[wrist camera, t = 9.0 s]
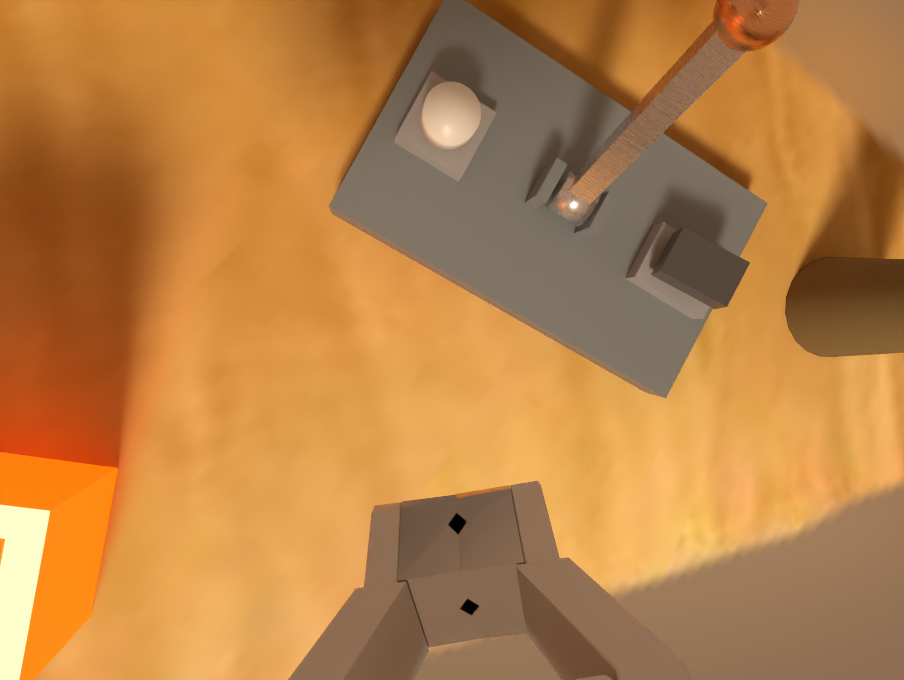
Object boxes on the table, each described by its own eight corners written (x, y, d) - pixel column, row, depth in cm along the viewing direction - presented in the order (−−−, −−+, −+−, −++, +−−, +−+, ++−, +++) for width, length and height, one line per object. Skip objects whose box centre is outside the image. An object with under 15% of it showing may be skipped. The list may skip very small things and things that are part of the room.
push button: (409, 131, 25) (412, 121, 24) (436, 83, 25) (441, 70, 24) (458, 161, 26) (463, 152, 24) (484, 113, 26) (491, 102, 24)
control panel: (331, 213, 28) (326, 196, 24) (443, 12, 28) (456, -37, 24) (646, 392, 31) (687, 404, 27) (742, 210, 31) (796, 195, 28)
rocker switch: (650, 274, 27) (660, 270, 26) (673, 232, 27) (683, 227, 26) (714, 308, 27) (727, 306, 26) (736, 267, 27) (749, 262, 26)
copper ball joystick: (535, 214, 26) (753, -31, 15) (548, 182, 28) (761, -69, 17) (575, 239, 27) (817, 17, 16) (587, 206, 28) (819, -23, 17)
